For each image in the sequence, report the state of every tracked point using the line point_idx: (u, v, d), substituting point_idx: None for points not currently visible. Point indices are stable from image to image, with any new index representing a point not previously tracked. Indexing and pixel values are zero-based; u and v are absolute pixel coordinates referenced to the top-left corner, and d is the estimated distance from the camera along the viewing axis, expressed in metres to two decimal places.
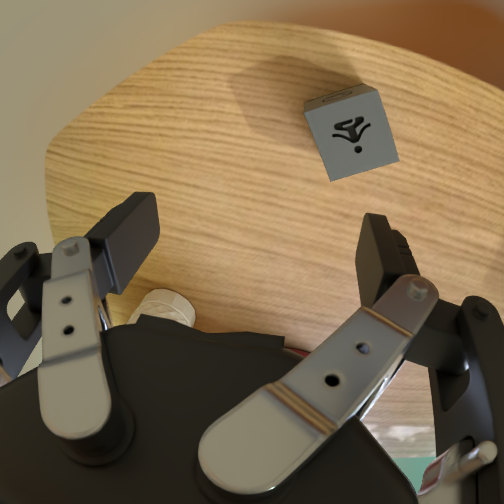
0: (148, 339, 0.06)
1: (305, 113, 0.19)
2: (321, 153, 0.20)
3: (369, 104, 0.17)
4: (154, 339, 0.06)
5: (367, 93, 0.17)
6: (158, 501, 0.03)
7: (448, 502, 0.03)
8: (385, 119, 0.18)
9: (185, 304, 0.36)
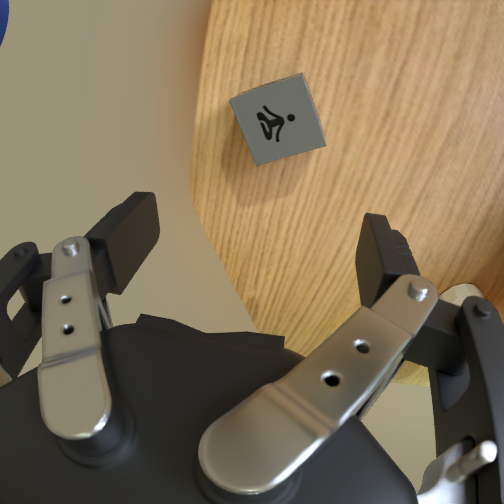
0: (148, 339, 0.06)
1: (256, 164, 0.22)
2: (296, 152, 0.21)
3: (244, 107, 0.20)
4: (154, 339, 0.06)
5: (233, 109, 0.20)
6: (158, 501, 0.03)
7: (447, 502, 0.03)
8: (257, 91, 0.19)
9: (454, 290, 0.29)
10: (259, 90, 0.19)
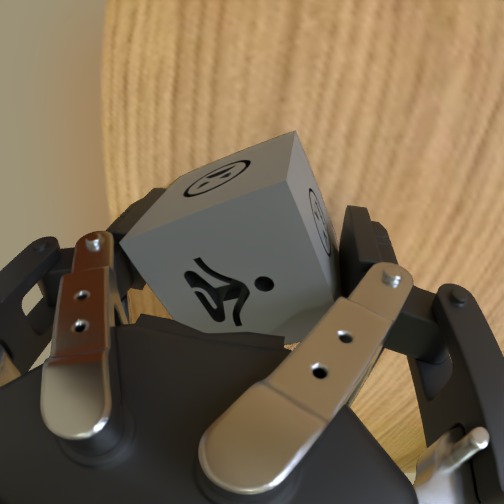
0: (148, 339, 0.06)
1: None
2: None
3: (153, 259, 0.09)
4: (154, 339, 0.06)
5: (133, 261, 0.09)
6: (158, 501, 0.03)
7: (445, 491, 0.04)
8: (175, 225, 0.08)
9: None
10: (179, 223, 0.08)
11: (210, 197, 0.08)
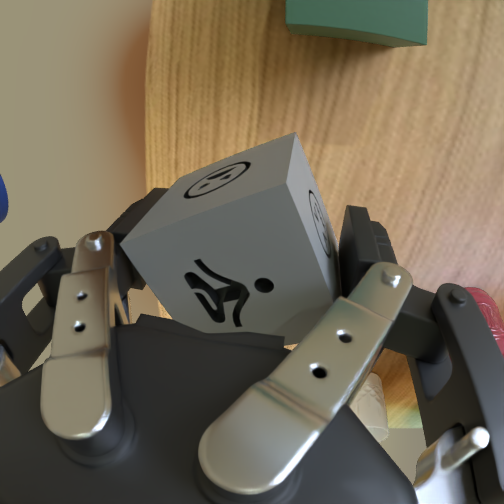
0: (148, 339, 0.06)
1: None
2: None
3: (153, 260, 0.09)
4: (154, 339, 0.06)
5: (134, 262, 0.09)
6: (158, 501, 0.03)
7: (446, 491, 0.04)
8: (175, 227, 0.08)
9: None
10: (179, 224, 0.08)
11: (210, 199, 0.08)
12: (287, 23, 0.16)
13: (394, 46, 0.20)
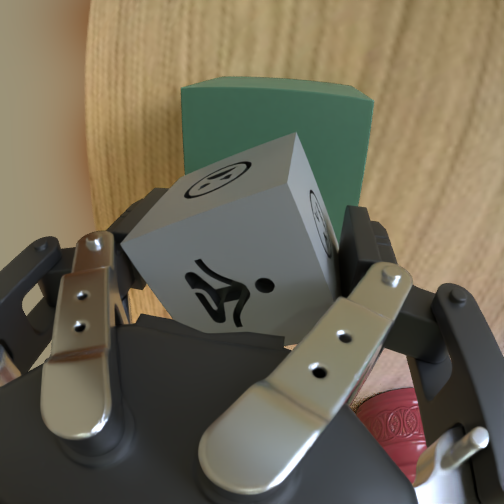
0: (148, 339, 0.06)
1: None
2: None
3: (154, 260, 0.09)
4: (154, 339, 0.06)
5: (134, 262, 0.09)
6: (158, 501, 0.03)
7: (446, 491, 0.04)
8: (176, 227, 0.08)
9: None
10: (180, 225, 0.08)
11: (211, 199, 0.08)
12: None
13: None
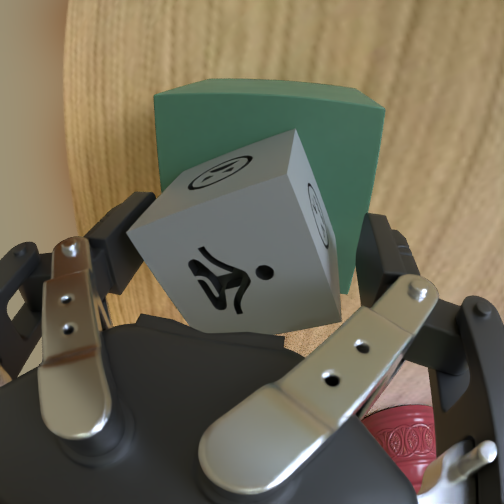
0: (148, 339, 0.06)
1: None
2: (278, 331, 0.10)
3: (158, 248, 0.09)
4: (154, 339, 0.06)
5: (139, 250, 0.09)
6: (158, 501, 0.03)
7: (448, 502, 0.03)
8: (181, 215, 0.08)
9: None
10: (184, 213, 0.08)
11: (214, 189, 0.09)
12: None
13: None
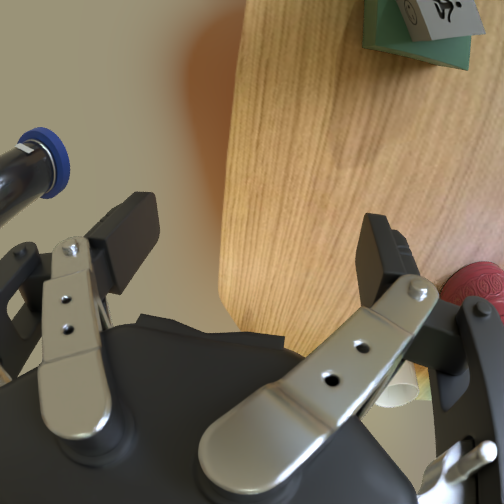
0: (148, 339, 0.06)
1: (432, 38, 0.16)
2: (464, 34, 0.15)
3: None
4: (154, 339, 0.06)
5: None
6: (158, 501, 0.03)
7: (448, 502, 0.03)
8: None
9: None
10: None
11: None
12: (376, 45, 0.21)
13: (439, 65, 0.25)
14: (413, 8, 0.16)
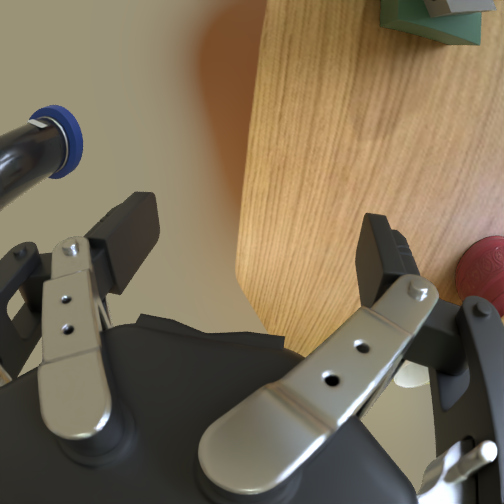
0: (148, 339, 0.06)
1: (451, 11, 0.15)
2: (478, 9, 0.14)
3: None
4: (154, 339, 0.06)
5: None
6: (158, 501, 0.03)
7: (447, 502, 0.03)
8: None
9: None
10: None
11: None
12: (398, 19, 0.21)
13: (450, 44, 0.25)
14: None
